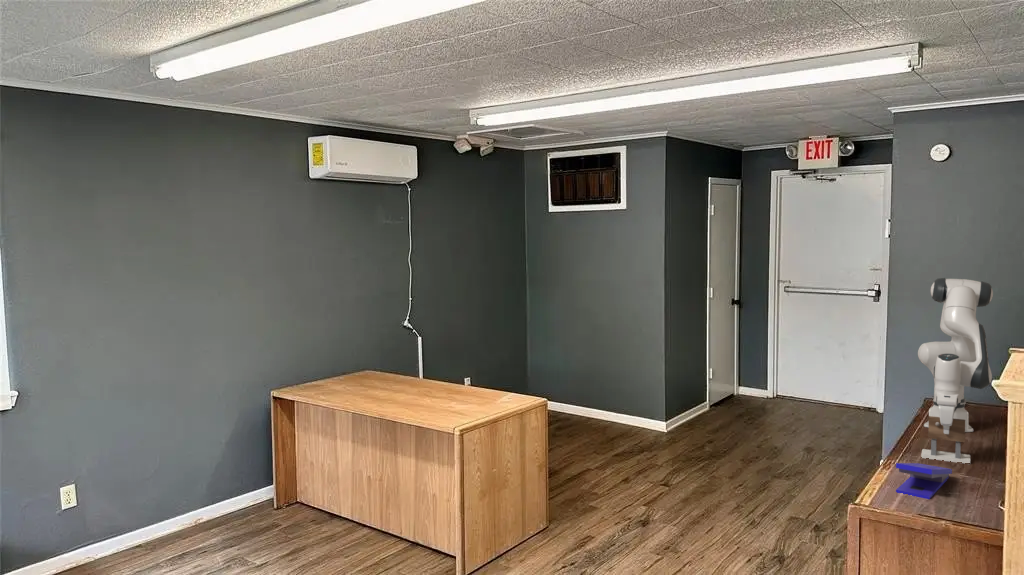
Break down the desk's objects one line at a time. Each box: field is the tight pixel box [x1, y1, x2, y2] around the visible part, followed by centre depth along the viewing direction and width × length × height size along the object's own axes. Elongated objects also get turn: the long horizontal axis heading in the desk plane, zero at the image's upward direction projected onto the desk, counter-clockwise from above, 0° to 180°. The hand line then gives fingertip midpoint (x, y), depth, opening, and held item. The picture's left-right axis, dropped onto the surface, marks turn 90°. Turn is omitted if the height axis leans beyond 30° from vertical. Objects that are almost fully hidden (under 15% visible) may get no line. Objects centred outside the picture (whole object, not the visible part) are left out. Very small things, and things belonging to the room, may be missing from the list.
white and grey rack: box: [920, 438, 971, 464], centre depth 280 cm, size 8×16×7 cm, turn 58°
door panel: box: [927, 415, 966, 443], centre depth 279 cm, size 4×12×8 cm, turn 58°
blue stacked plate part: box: [895, 462, 953, 500], centre depth 250 cm, size 12×28×10 cm, turn 138°
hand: (946, 432), depth 280 cm, fingers closed on door panel, 3 cm apart
